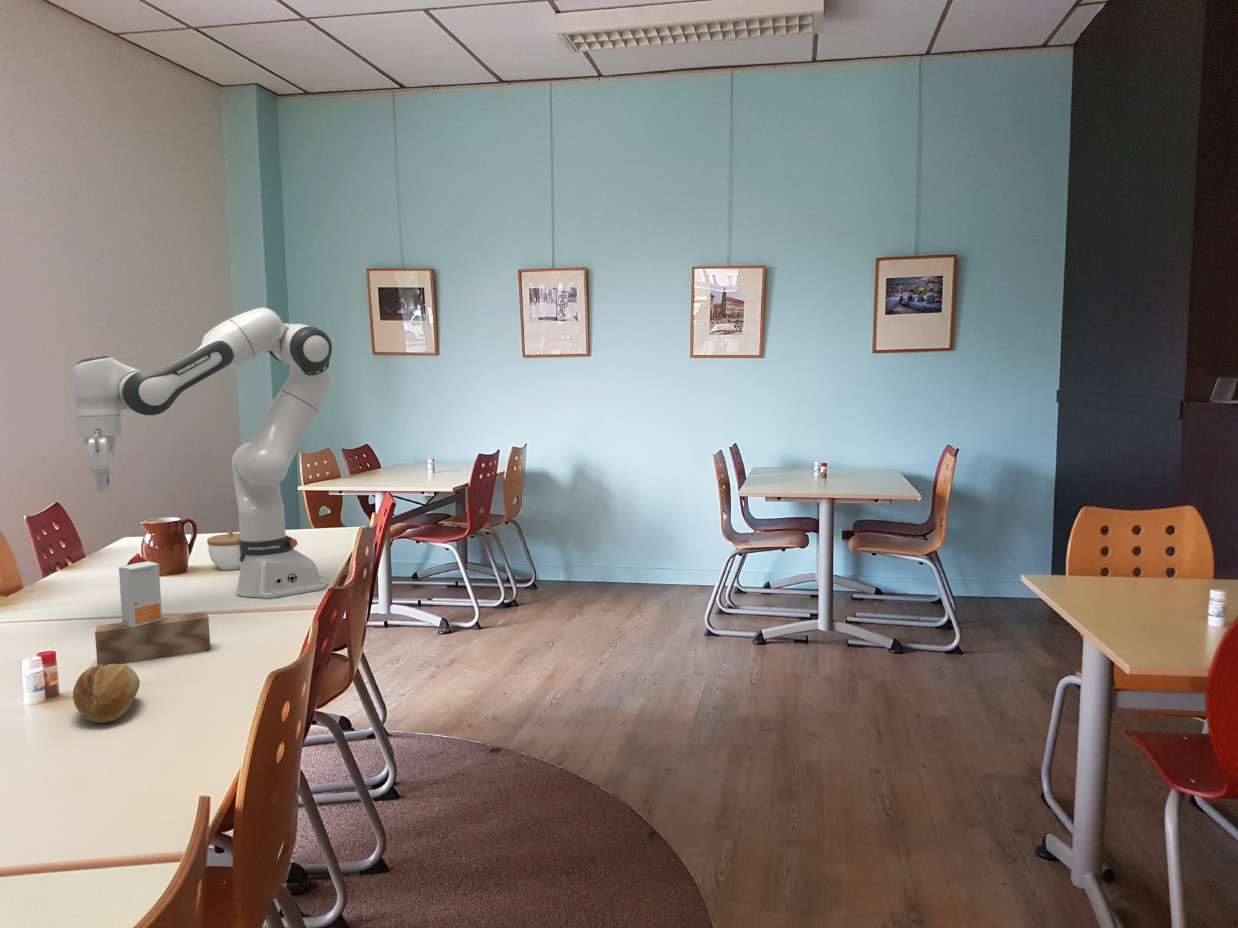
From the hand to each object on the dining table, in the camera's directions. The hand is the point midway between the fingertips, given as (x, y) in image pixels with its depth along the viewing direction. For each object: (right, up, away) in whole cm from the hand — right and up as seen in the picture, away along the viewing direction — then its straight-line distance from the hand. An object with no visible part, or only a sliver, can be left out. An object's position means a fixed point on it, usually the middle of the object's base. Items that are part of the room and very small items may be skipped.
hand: (103, 488), depth 192 cm
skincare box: (+21, -27, -22) cm, 41 cm away
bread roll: (+31, -37, -49) cm, 69 cm away
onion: (-15, -27, +40) cm, 51 cm away
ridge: (+23, -33, -20) cm, 46 cm away
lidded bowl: (+3, -25, +57) cm, 62 cm away
